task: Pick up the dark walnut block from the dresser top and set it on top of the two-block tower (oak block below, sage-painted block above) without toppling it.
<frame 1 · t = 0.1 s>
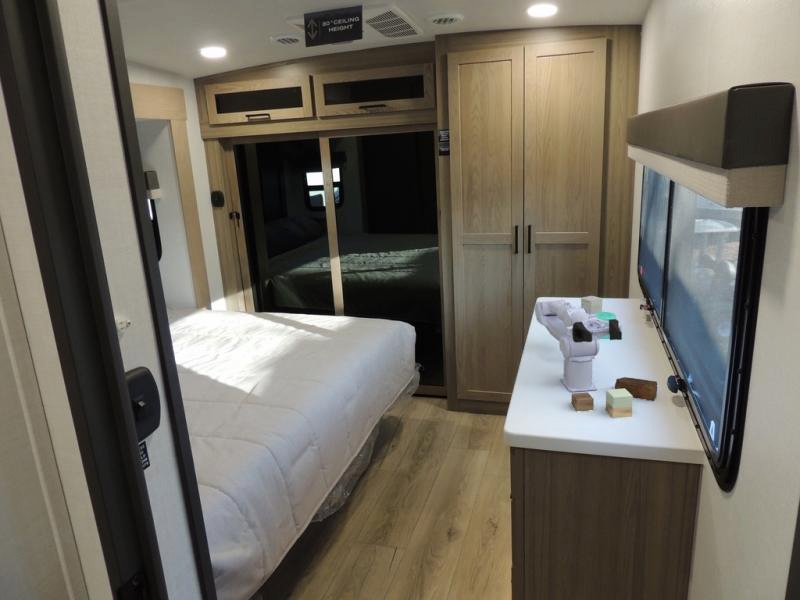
hand: (605, 337, 149), 22 cm above the dresser top, tool horizontal, fingers open, 7 cm apart
walnut block: (582, 408, 159), on the dresser top
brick: (635, 396, 165), on the dresser top
oak block: (618, 413, 155), on the dresser top
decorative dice: (603, 336, 215), on the dresser top
sage block: (619, 403, 154), point 3 cm above the dresser top
product box: (591, 315, 241), on the dresser top
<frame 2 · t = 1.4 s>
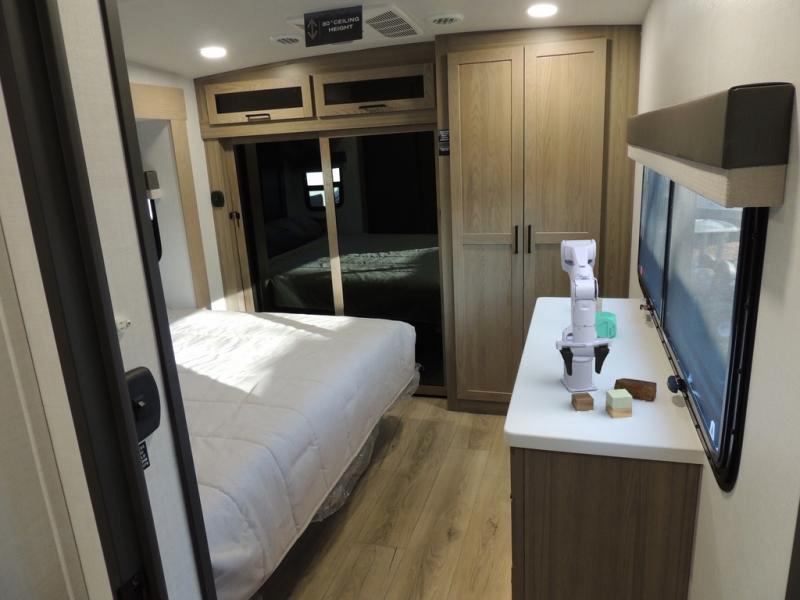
hand: (583, 373, 156), 10 cm above the dresser top, tool pointing down, fingers open, 7 cm apart
oak block: (618, 414, 155), on the dresser top, touching sage block
sage block: (618, 403, 154), point 3 cm above the dresser top, touching oak block
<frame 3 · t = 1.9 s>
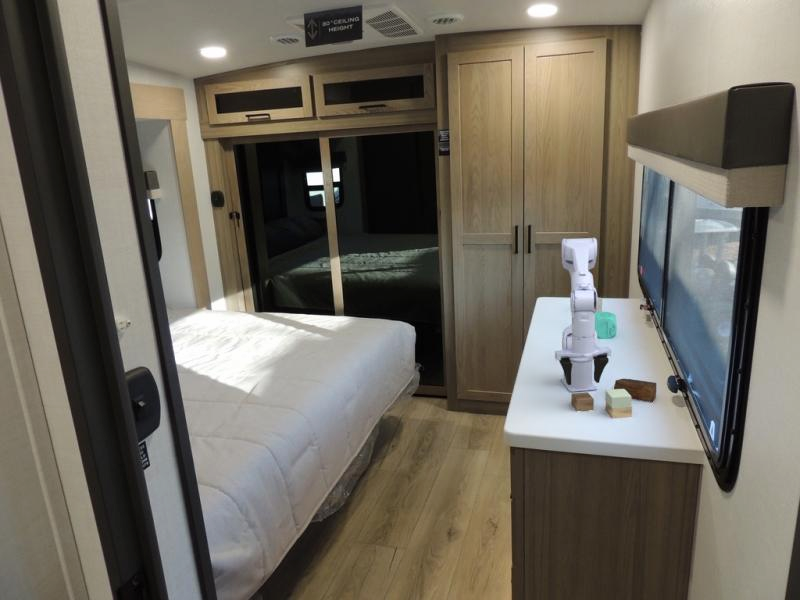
hand: (582, 382, 157), 7 cm above the dresser top, tool pointing down, fingers open, 7 cm apart
nothing on the dresser top moved.
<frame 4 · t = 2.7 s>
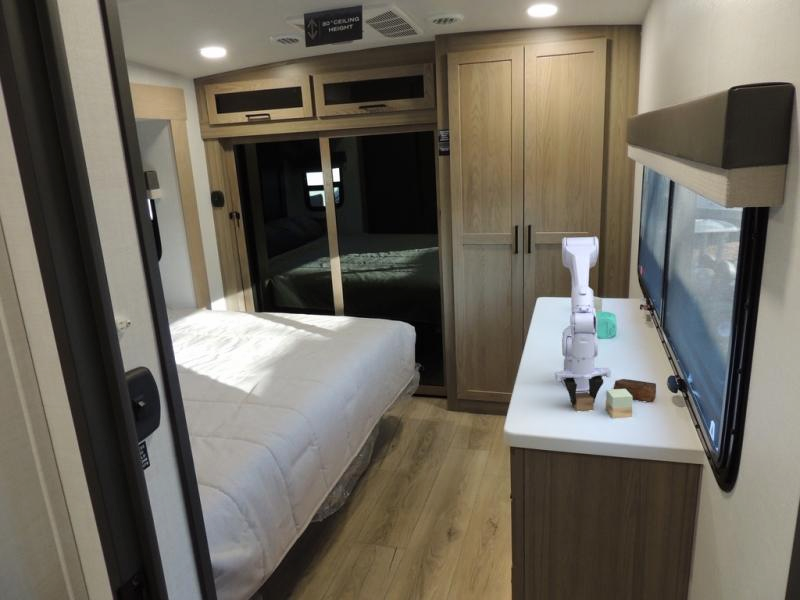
hand: (582, 402, 159), 1 cm above the dresser top, tool pointing down, fingers closed on walnut block, 4 cm apart
walnut block: (582, 407, 159), on the dresser top, touching gripper
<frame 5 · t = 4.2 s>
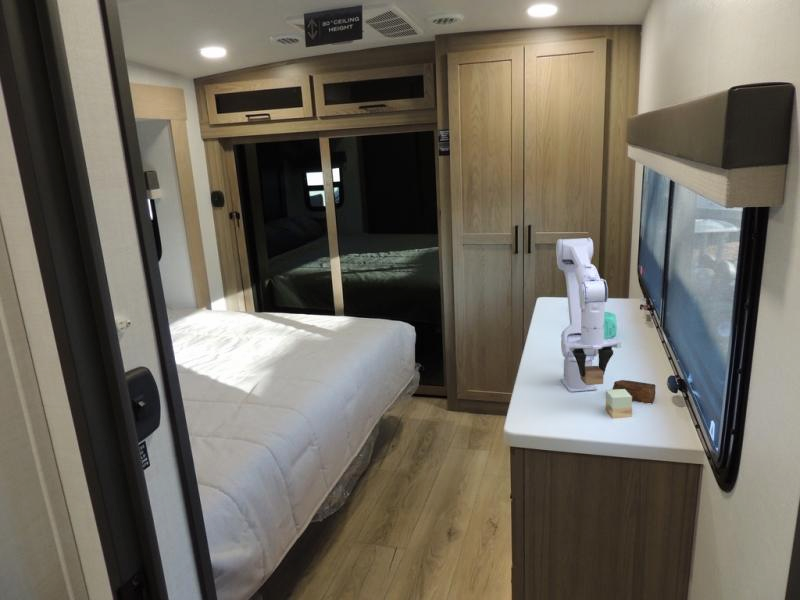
hand: (591, 374, 156), 10 cm above the dresser top, tool pointing down, fingers closed on walnut block, 4 cm apart
walnut block: (591, 381, 156), point 8 cm above the dresser top, touching gripper
when the fingers open (9 cm above the dresser top, at t = 5.4 s): walnut block stays where it is, resting on sage block.
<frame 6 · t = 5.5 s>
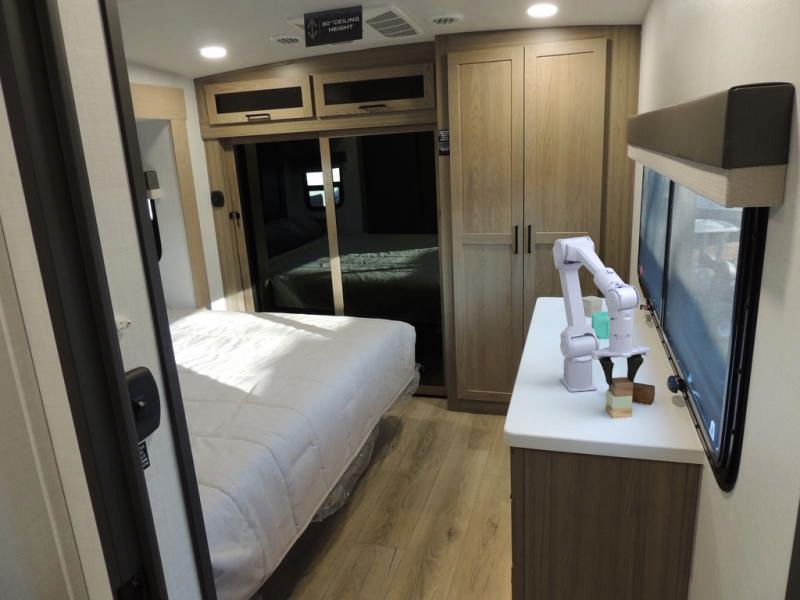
hand: (619, 382, 153), 9 cm above the dresser top, tool pointing down, fingers open, 5 cm apart
walnut block: (620, 393, 153), point 6 cm above the dresser top, touching gripper, sage block
sage block: (618, 403, 154), point 3 cm above the dresser top, touching oak block, walnut block
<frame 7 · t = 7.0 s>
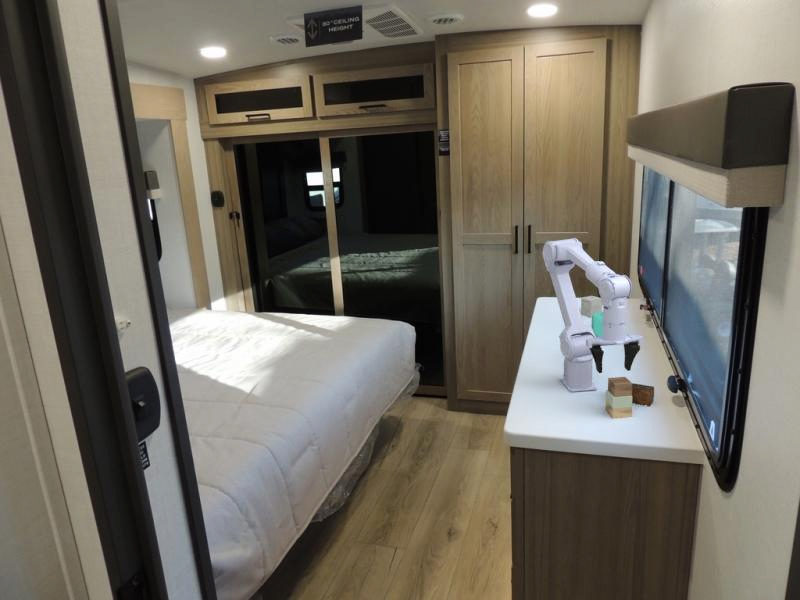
hand: (613, 370, 156), 10 cm above the dresser top, tool pointing down, fingers open, 7 cm apart
walnut block: (619, 393, 153), point 6 cm above the dresser top, touching sage block
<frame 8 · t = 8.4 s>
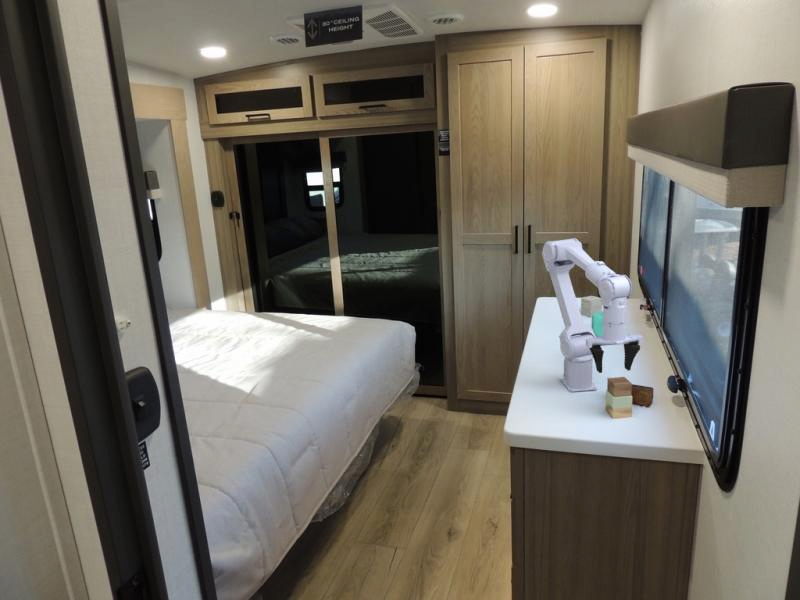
hand: (613, 370, 156), 10 cm above the dresser top, tool pointing down, fingers open, 7 cm apart
at the end: walnut block 0.1 cm off-centre on the oak block, point 6.0 cm above the oak block's base; sage block tilted 0°; walnut block tilted 0° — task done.
